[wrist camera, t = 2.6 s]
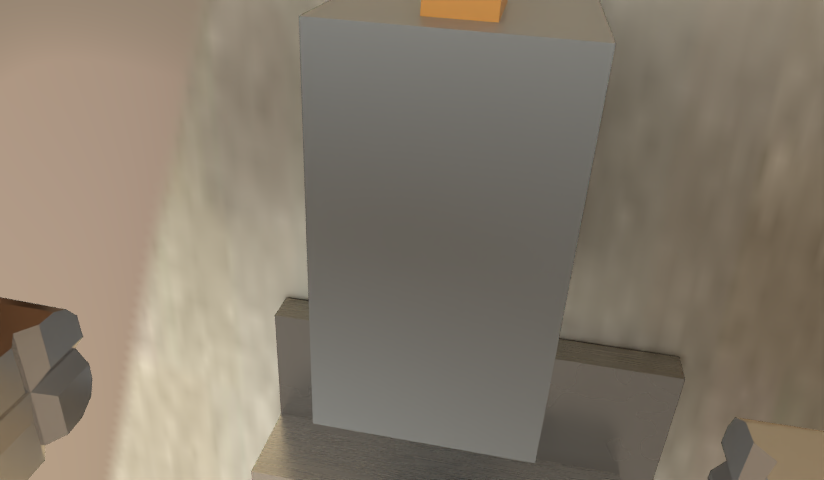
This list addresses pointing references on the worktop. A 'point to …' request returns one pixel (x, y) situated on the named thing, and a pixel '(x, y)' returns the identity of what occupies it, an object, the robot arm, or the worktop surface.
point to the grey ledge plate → (474, 472)
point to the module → (445, 209)
